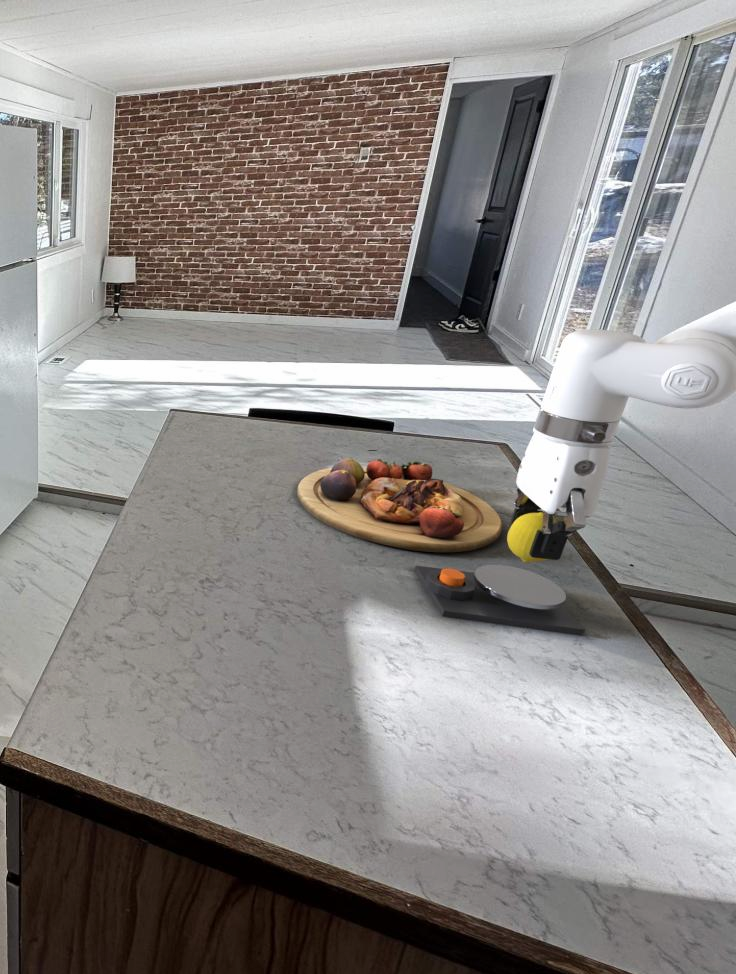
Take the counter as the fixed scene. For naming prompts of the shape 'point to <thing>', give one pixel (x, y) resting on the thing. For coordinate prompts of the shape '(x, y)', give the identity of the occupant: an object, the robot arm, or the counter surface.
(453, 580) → the tare button
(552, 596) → the scale pan
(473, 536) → the wooden plate
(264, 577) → the counter surface
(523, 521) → the lemon
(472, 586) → the scale
